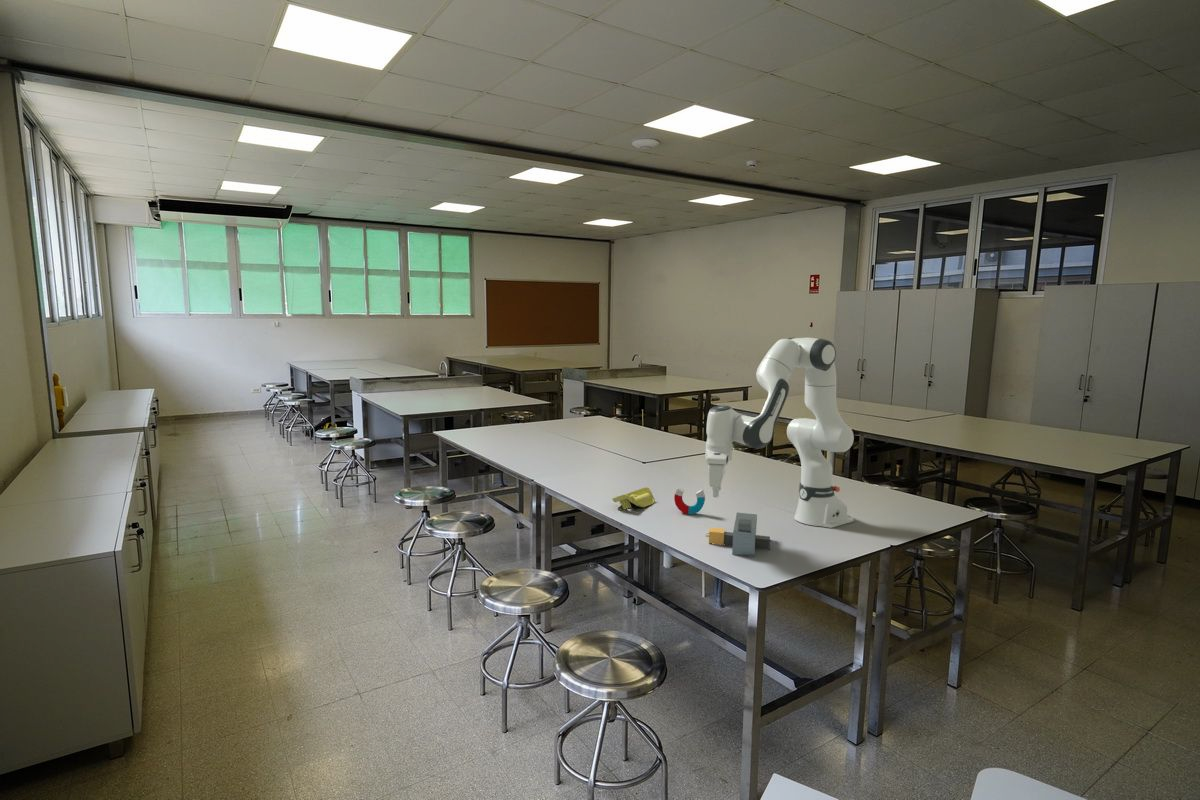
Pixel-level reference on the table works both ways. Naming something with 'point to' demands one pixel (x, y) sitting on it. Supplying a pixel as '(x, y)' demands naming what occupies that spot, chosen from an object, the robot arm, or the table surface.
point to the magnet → (686, 508)
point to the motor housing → (744, 534)
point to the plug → (727, 538)
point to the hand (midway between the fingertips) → (716, 493)
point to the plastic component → (636, 498)
